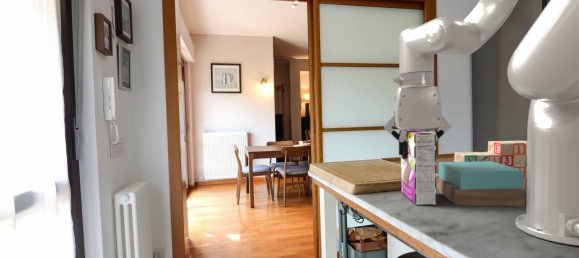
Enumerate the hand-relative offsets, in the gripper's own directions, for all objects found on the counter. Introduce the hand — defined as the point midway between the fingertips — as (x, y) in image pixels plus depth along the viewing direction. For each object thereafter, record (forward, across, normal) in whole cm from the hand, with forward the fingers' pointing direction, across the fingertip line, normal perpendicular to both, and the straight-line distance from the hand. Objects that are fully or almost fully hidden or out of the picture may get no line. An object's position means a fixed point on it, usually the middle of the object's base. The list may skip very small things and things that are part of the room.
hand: (416, 157), depth 74 cm
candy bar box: (+10, 0, 0) cm, 10 cm away
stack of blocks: (+10, +24, +14) cm, 30 cm away
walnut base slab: (+11, +14, +3) cm, 18 cm away
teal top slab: (+7, +14, +3) cm, 16 cm away
